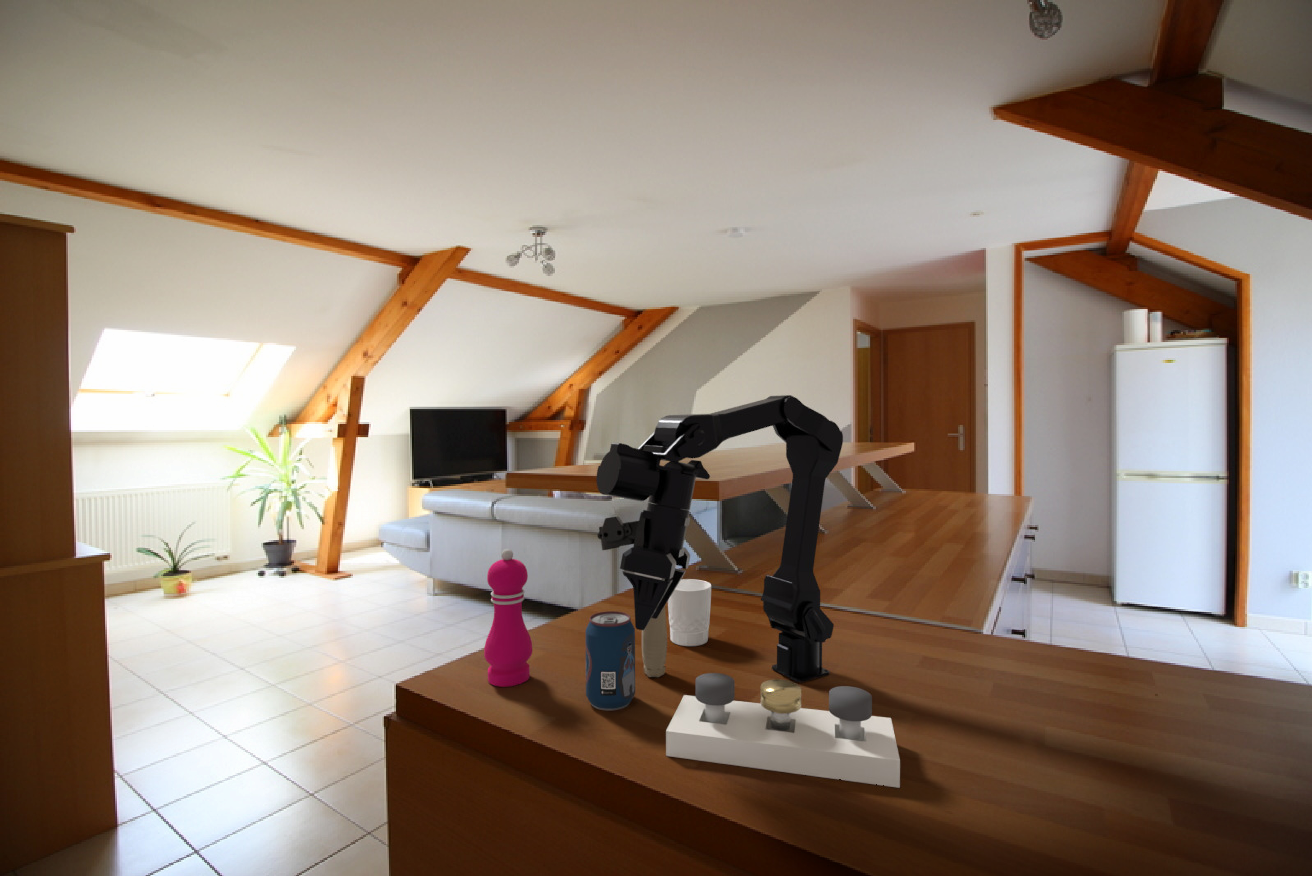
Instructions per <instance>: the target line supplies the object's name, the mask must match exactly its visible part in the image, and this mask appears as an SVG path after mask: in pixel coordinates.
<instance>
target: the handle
mask: <svg viewBox="0 0 1312 876" xmlns="http://www.w3.org/2000/svg"><path fill="white" fill-rule="evenodd" d="M667 632H668V631H667V618H666V605H665V606H664V608H663V610H662V611H661V613H660V614H659V616H658V618H657V619H654V618H651V619H650V621H649V623H648V624H647V626H646V628H645V629H644V630H641V655H642V657H641V658H642V662H643V673H644V674H645V675H646V676H647V677H648V678H660V677H661V676H664V675H665V673H666V665H665V664H666V660H667V651H668V650H667V649H668V633H667Z"/></svg>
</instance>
